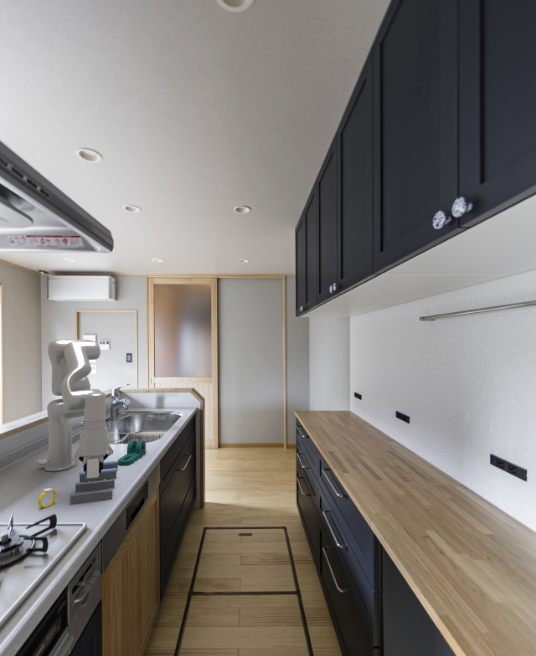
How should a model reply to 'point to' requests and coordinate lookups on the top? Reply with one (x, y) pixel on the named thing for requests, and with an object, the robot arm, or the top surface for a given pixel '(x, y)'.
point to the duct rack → (96, 485)
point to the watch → (44, 494)
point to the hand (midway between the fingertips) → (93, 471)
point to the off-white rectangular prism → (93, 466)
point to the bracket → (133, 453)
